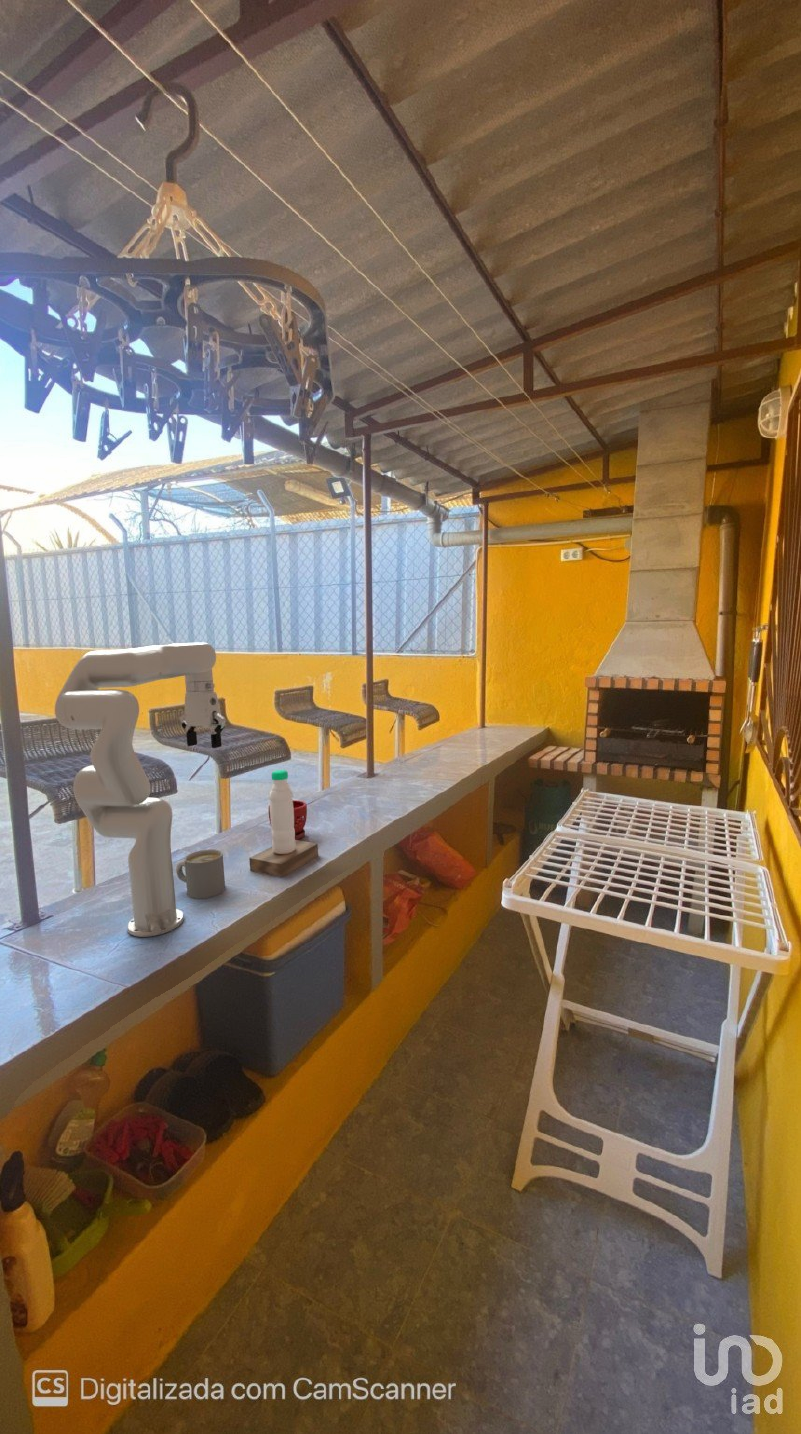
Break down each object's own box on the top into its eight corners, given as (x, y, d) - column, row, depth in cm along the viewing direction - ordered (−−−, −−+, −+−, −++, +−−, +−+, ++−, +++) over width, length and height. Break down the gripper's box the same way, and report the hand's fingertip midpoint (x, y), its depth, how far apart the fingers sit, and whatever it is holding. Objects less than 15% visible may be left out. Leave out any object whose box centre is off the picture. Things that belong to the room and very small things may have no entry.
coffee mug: (232, 885, 157) (230, 851, 156) (207, 901, 148) (204, 865, 147) (196, 879, 163) (193, 846, 162) (169, 893, 154) (166, 858, 153)
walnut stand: (318, 855, 178) (317, 843, 177) (281, 877, 162) (281, 864, 162) (288, 850, 183) (287, 838, 183) (250, 870, 168) (249, 858, 167)
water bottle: (283, 856, 167) (278, 775, 164) (267, 852, 171) (262, 772, 168) (300, 849, 173) (296, 770, 170) (285, 845, 177) (280, 767, 174)
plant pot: (304, 843, 190) (302, 809, 188) (266, 844, 190) (263, 810, 189) (311, 830, 203) (309, 798, 201) (275, 831, 203) (273, 799, 202)
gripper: (231, 686, 159) (236, 745, 162) (188, 686, 167) (193, 742, 170) (211, 688, 153) (216, 750, 155) (167, 688, 161) (172, 747, 163)
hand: (204, 746), depth 162 cm, fingers open, 9 cm apart
